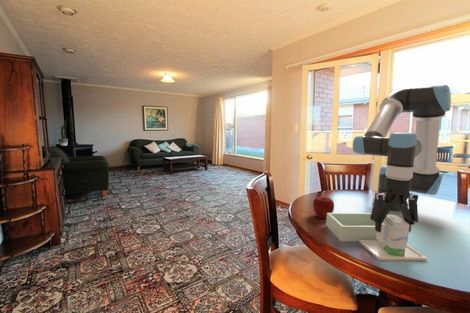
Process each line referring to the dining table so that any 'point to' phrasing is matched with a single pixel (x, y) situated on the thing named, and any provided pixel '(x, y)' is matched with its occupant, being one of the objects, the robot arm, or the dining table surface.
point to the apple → (323, 206)
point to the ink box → (395, 235)
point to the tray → (384, 256)
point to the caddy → (351, 226)
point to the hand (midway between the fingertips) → (391, 240)
